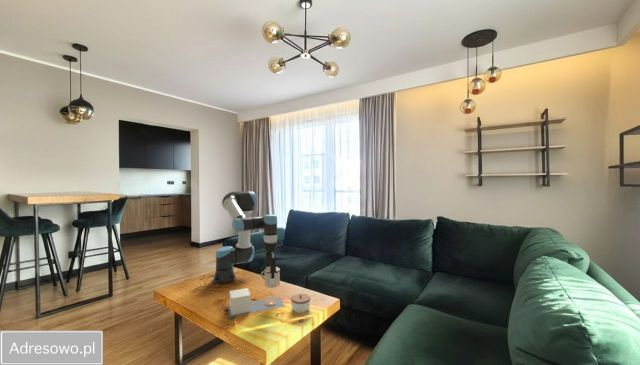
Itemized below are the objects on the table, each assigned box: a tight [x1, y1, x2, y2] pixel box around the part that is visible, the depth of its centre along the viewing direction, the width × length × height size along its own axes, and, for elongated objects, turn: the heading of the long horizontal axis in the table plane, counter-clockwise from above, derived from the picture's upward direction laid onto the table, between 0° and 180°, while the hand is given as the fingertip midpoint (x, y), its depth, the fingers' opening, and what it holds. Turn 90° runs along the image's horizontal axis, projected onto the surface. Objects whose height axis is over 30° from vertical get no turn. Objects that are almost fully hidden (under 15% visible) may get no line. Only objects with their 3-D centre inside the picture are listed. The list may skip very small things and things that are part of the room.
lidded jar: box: [290, 293, 311, 314], centre depth 146 cm, size 11×11×9 cm
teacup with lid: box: [260, 266, 281, 289], centre depth 153 cm, size 12×9×12 cm
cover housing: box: [229, 287, 252, 315], centre depth 145 cm, size 10×10×9 cm
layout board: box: [227, 296, 286, 320], centre depth 149 cm, size 13×30×1 cm, turn 113°
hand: (270, 280), depth 152 cm, fingers closed on teacup with lid, 9 cm apart
